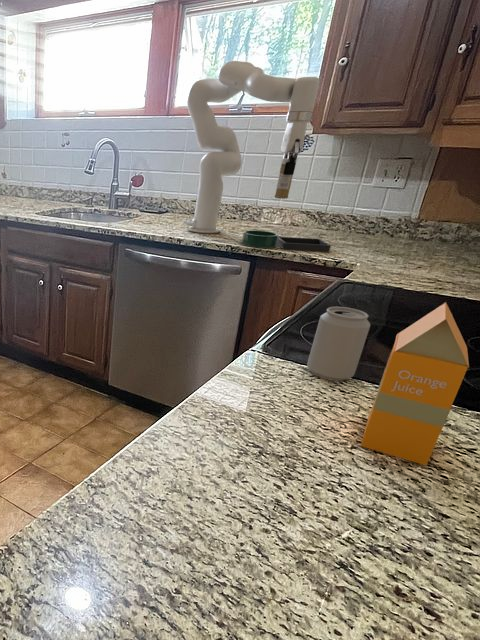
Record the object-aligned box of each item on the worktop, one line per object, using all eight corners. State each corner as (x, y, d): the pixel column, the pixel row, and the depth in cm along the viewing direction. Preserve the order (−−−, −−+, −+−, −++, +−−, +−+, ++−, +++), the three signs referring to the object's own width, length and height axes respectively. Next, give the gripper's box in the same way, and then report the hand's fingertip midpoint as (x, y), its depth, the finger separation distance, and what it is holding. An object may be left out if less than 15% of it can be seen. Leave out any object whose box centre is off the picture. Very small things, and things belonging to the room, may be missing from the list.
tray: (283, 249, 192) (284, 242, 191) (275, 243, 203) (276, 236, 202) (328, 252, 189) (330, 245, 188) (318, 245, 199) (320, 238, 198)
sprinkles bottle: (289, 198, 191) (298, 158, 185) (284, 199, 188) (294, 159, 182) (276, 196, 194) (285, 158, 188) (271, 197, 191) (280, 158, 185)
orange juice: (359, 445, 74) (406, 311, 65) (366, 420, 80) (410, 295, 72) (428, 466, 69) (488, 325, 61) (429, 438, 76) (484, 306, 67)
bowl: (244, 247, 195) (247, 235, 193) (239, 241, 205) (241, 229, 203) (278, 249, 192) (281, 236, 190) (271, 243, 203) (273, 231, 201)
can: (336, 365, 99) (354, 304, 94) (362, 382, 92) (384, 318, 87) (297, 365, 99) (313, 304, 94) (320, 383, 92) (340, 318, 87)
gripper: (281, 118, 188) (269, 171, 196) (293, 117, 173) (280, 175, 181) (304, 118, 186) (291, 172, 194) (318, 117, 171) (304, 176, 179)
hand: (286, 173), depth 187 cm, fingers closed on sprinkles bottle, 4 cm apart
